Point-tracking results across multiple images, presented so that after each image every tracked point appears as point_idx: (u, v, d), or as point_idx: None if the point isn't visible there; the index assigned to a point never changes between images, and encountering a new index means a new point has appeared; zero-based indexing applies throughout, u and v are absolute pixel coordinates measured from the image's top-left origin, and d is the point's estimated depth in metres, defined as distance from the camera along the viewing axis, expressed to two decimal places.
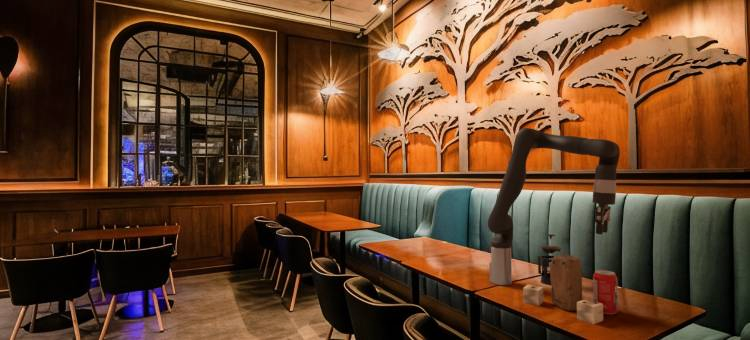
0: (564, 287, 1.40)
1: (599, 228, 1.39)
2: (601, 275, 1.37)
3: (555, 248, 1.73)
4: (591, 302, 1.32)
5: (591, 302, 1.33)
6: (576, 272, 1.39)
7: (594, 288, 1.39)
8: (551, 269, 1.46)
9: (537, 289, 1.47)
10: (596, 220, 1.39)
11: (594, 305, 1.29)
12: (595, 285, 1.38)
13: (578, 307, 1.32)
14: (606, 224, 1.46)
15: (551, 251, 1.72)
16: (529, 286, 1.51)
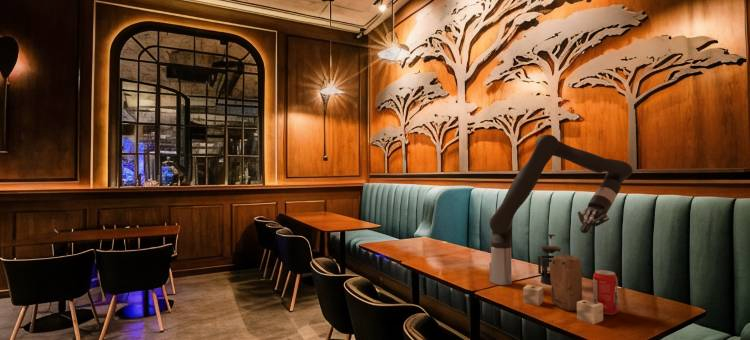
0: (564, 287, 1.40)
1: (588, 228, 1.48)
2: (601, 275, 1.37)
3: (555, 248, 1.73)
4: (591, 302, 1.32)
5: (591, 302, 1.33)
6: (576, 272, 1.39)
7: (594, 288, 1.39)
8: (551, 269, 1.46)
9: (537, 289, 1.47)
10: None
11: (594, 305, 1.29)
12: (595, 285, 1.38)
13: (578, 307, 1.32)
14: None
15: (551, 251, 1.72)
16: (529, 286, 1.51)
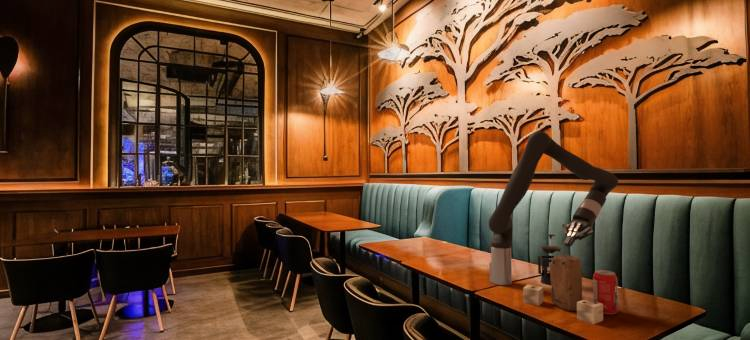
0: (564, 287, 1.40)
1: (573, 242, 1.44)
2: (601, 275, 1.37)
3: (555, 248, 1.73)
4: (591, 302, 1.32)
5: (591, 302, 1.33)
6: (576, 272, 1.39)
7: (594, 288, 1.39)
8: (551, 269, 1.46)
9: (537, 289, 1.47)
10: (579, 235, 1.44)
11: (594, 305, 1.29)
12: (595, 285, 1.38)
13: (578, 307, 1.32)
14: None
15: (551, 251, 1.72)
16: (529, 286, 1.51)
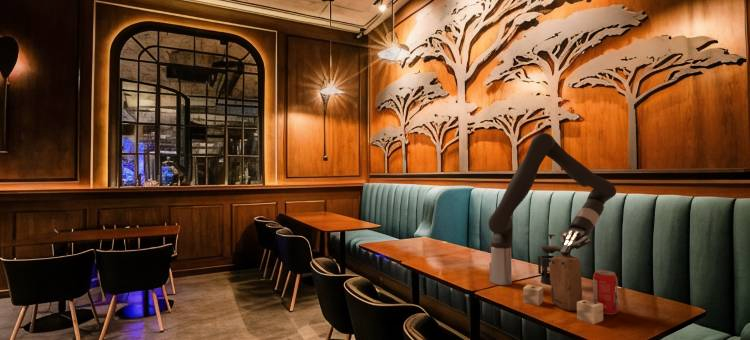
0: (563, 287, 1.40)
1: (569, 251, 1.44)
2: (601, 275, 1.37)
3: (555, 248, 1.73)
4: (591, 302, 1.32)
5: (591, 302, 1.33)
6: (575, 272, 1.39)
7: (594, 288, 1.39)
8: (551, 269, 1.46)
9: (537, 289, 1.47)
10: (576, 244, 1.43)
11: (594, 305, 1.29)
12: (595, 285, 1.38)
13: (578, 307, 1.32)
14: None
15: (551, 251, 1.72)
16: (529, 286, 1.51)
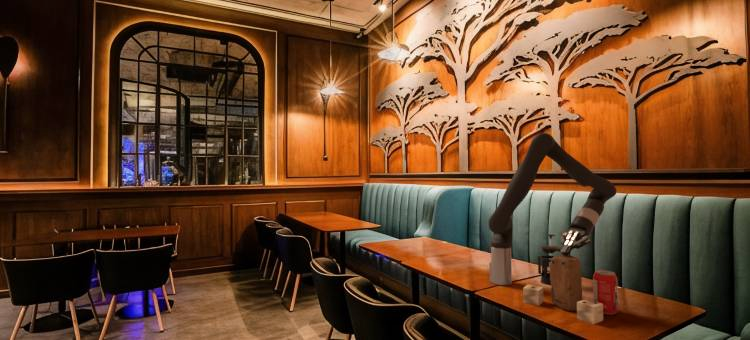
0: (564, 287, 1.40)
1: (570, 251, 1.44)
2: (601, 275, 1.37)
3: (555, 248, 1.73)
4: (591, 302, 1.32)
5: (591, 302, 1.33)
6: (575, 272, 1.39)
7: (594, 288, 1.39)
8: (551, 269, 1.46)
9: (537, 289, 1.47)
10: None
11: (594, 305, 1.29)
12: (595, 285, 1.38)
13: (578, 307, 1.32)
14: None
15: (551, 251, 1.72)
16: (529, 286, 1.51)
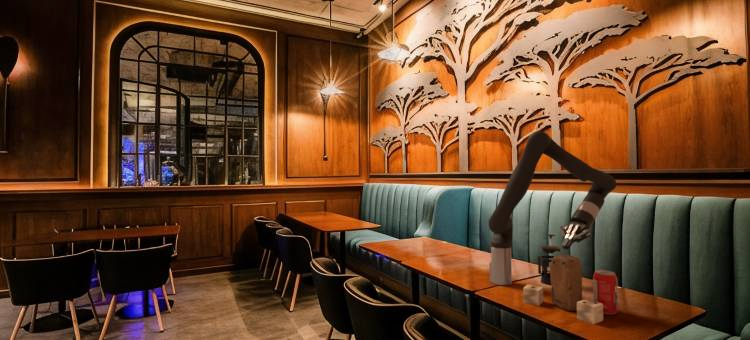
0: (564, 287, 1.40)
1: (570, 244, 1.44)
2: (601, 275, 1.37)
3: (555, 248, 1.73)
4: (591, 302, 1.32)
5: (591, 302, 1.33)
6: (576, 272, 1.39)
7: (594, 288, 1.39)
8: (551, 269, 1.46)
9: (537, 289, 1.47)
10: (577, 238, 1.43)
11: (594, 305, 1.29)
12: (595, 285, 1.38)
13: (578, 307, 1.32)
14: None
15: (551, 251, 1.72)
16: (529, 286, 1.51)
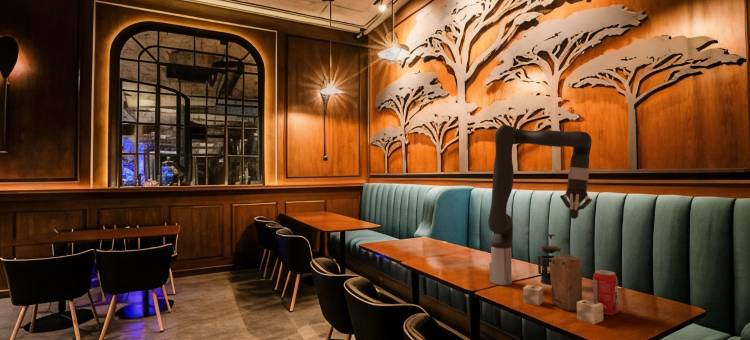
0: (564, 287, 1.40)
1: (577, 214, 1.58)
2: (601, 275, 1.37)
3: (555, 248, 1.73)
4: (591, 302, 1.32)
5: (591, 302, 1.33)
6: (576, 272, 1.39)
7: (594, 288, 1.39)
8: (551, 269, 1.46)
9: (537, 289, 1.47)
10: None
11: (594, 305, 1.29)
12: (595, 285, 1.38)
13: (578, 307, 1.32)
14: None
15: (551, 251, 1.72)
16: (529, 286, 1.51)
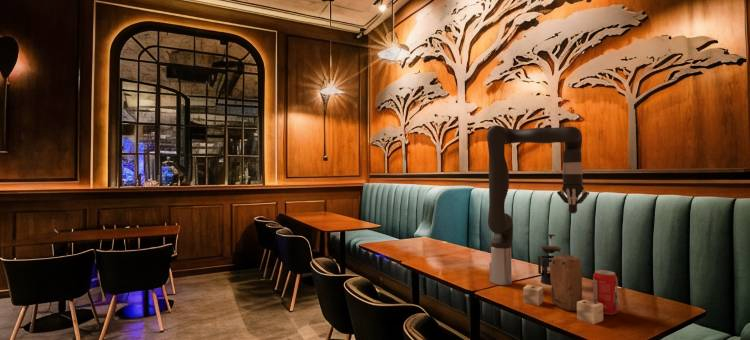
0: (564, 287, 1.40)
1: (576, 208, 1.58)
2: (601, 275, 1.37)
3: (555, 248, 1.73)
4: (591, 302, 1.32)
5: (591, 302, 1.33)
6: (576, 272, 1.39)
7: (594, 288, 1.39)
8: (551, 269, 1.46)
9: (537, 289, 1.47)
10: None
11: (594, 305, 1.29)
12: (595, 285, 1.38)
13: (578, 307, 1.32)
14: None
15: (551, 251, 1.72)
16: (529, 286, 1.51)
